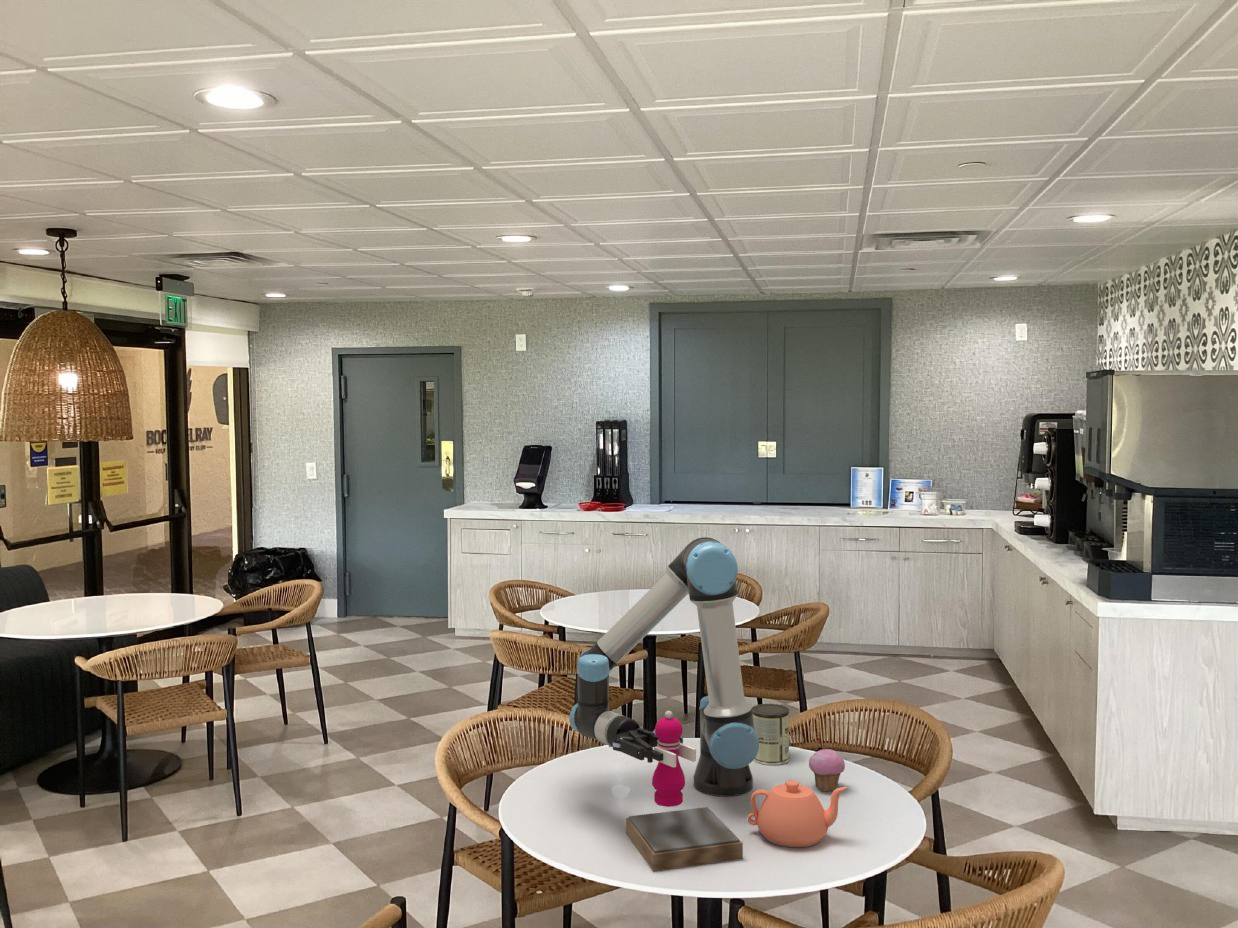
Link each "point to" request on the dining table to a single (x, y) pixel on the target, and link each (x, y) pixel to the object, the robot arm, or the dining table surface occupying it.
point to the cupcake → (826, 768)
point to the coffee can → (772, 733)
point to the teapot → (793, 814)
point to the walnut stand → (683, 838)
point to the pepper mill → (665, 776)
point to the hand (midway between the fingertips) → (684, 757)
